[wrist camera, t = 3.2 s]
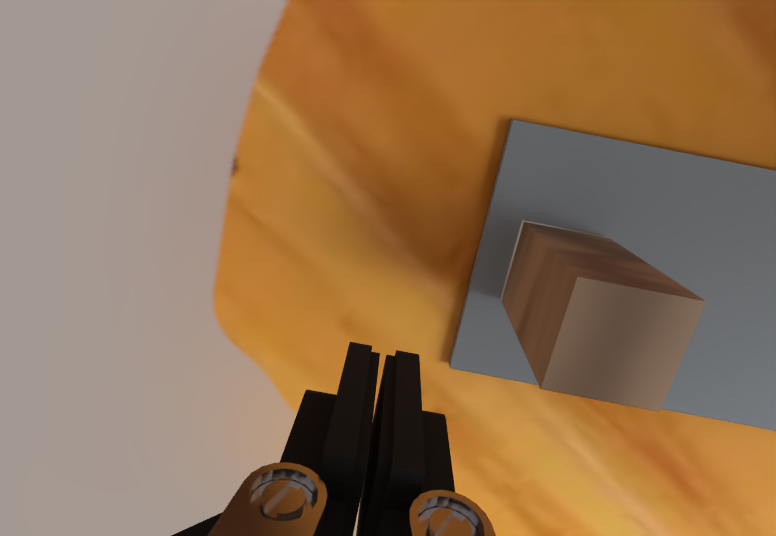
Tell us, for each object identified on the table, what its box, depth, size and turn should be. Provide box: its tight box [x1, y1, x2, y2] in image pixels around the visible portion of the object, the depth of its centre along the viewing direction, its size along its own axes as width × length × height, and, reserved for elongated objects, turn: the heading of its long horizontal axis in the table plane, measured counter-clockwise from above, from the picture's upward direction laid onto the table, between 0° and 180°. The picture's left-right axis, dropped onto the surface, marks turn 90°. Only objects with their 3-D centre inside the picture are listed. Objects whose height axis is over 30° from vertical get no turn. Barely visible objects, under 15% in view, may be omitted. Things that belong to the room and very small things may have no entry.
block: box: [500, 220, 706, 412], centre depth 21 cm, size 4×4×9 cm
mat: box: [449, 119, 776, 431], centre depth 26 cm, size 22×14×1 cm, turn 79°
